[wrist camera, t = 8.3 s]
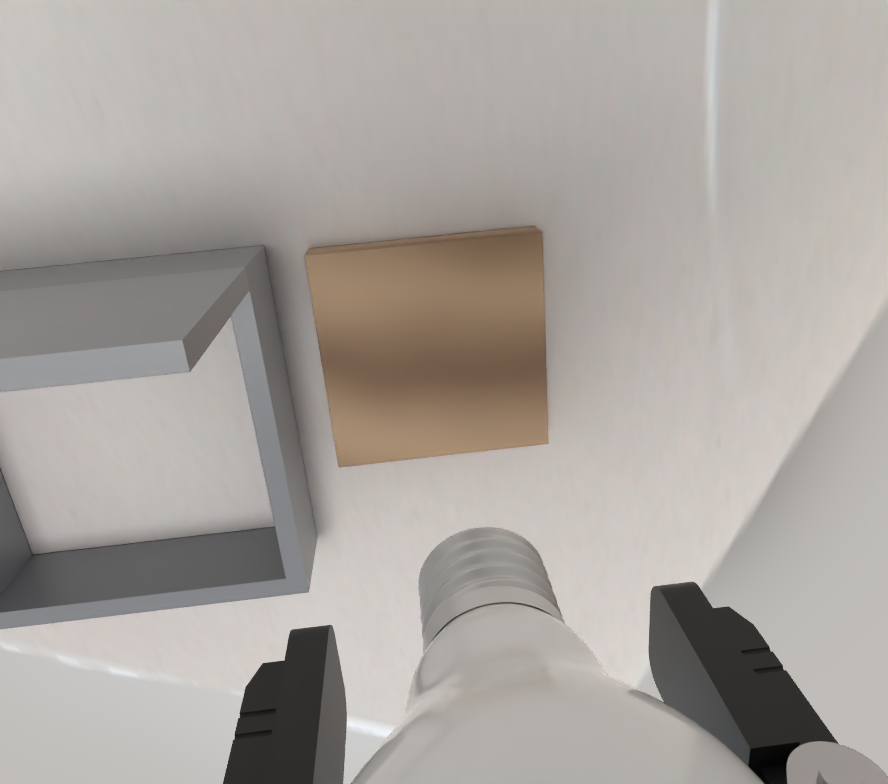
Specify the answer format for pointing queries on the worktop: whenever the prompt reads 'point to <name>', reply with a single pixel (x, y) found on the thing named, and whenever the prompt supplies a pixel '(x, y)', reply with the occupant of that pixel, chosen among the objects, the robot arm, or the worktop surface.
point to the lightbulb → (527, 689)
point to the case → (141, 355)
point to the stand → (432, 344)
